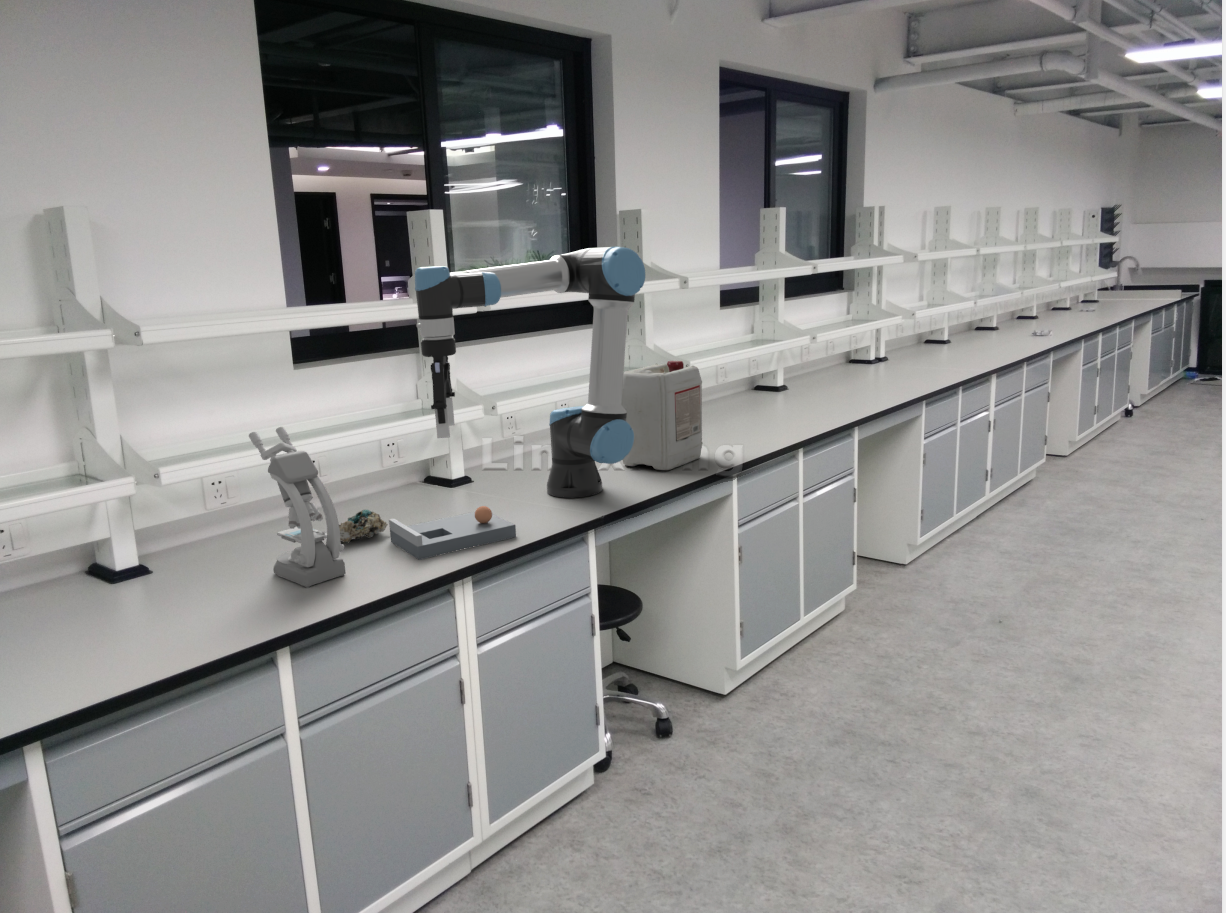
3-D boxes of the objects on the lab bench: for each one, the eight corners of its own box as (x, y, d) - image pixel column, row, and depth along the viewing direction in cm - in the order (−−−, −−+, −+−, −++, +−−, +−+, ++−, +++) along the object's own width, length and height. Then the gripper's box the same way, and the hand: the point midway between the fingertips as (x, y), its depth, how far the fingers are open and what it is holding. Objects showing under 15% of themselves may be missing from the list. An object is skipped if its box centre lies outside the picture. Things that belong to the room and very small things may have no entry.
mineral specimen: (374, 525, 218) (359, 497, 215) (395, 528, 212) (381, 500, 208) (334, 555, 210) (318, 527, 207) (355, 559, 204) (339, 530, 201)
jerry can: (657, 451, 289) (655, 358, 282) (708, 457, 278) (707, 360, 272) (614, 467, 270) (611, 368, 263) (667, 474, 259) (665, 371, 253)
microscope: (304, 557, 199) (288, 424, 192) (353, 574, 187) (337, 433, 180) (258, 571, 191) (239, 433, 184) (305, 590, 179) (287, 443, 172)
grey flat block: (484, 521, 220) (483, 500, 219) (516, 536, 208) (514, 514, 206) (391, 541, 207) (388, 519, 206) (418, 559, 194) (416, 536, 193)
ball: (487, 519, 212) (486, 503, 211) (495, 523, 208) (494, 506, 208) (472, 522, 209) (471, 506, 209) (480, 526, 206) (478, 509, 205)
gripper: (426, 333, 211) (434, 421, 216) (413, 344, 187) (423, 444, 192) (458, 331, 212) (466, 419, 217) (450, 342, 187) (459, 441, 192)
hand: (446, 431), depth 204 cm, fingers open, 13 cm apart
